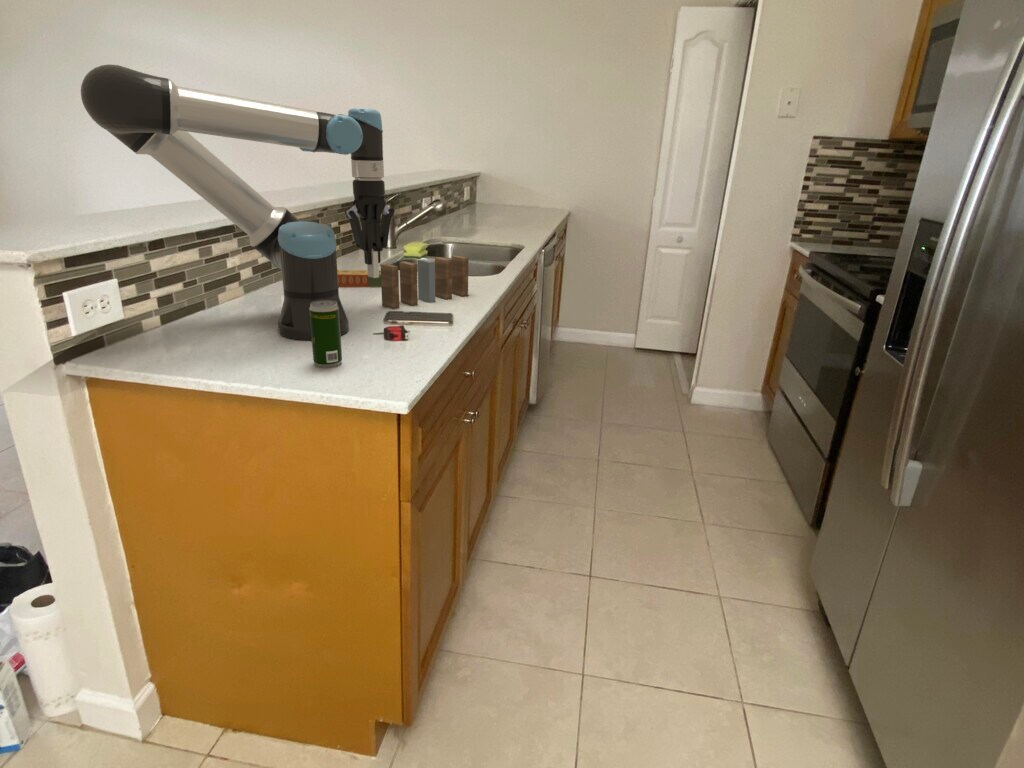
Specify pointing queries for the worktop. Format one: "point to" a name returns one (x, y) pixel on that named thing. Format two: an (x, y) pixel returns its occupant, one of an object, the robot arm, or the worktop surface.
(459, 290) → the domino
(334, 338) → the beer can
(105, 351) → the worktop surface
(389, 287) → the domino
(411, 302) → the domino
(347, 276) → the carton
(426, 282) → the domino
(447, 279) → the domino
